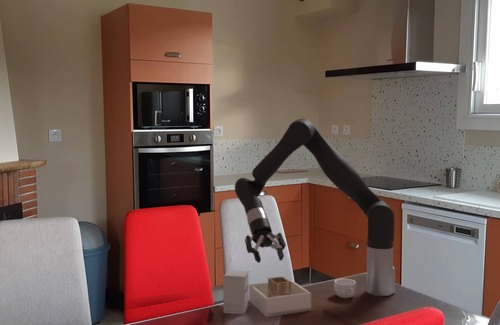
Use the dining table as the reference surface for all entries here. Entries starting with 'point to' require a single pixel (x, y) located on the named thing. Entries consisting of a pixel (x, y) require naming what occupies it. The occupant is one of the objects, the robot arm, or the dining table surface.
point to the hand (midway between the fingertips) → (270, 260)
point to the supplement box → (235, 292)
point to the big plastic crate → (279, 300)
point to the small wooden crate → (278, 287)
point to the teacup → (345, 287)
